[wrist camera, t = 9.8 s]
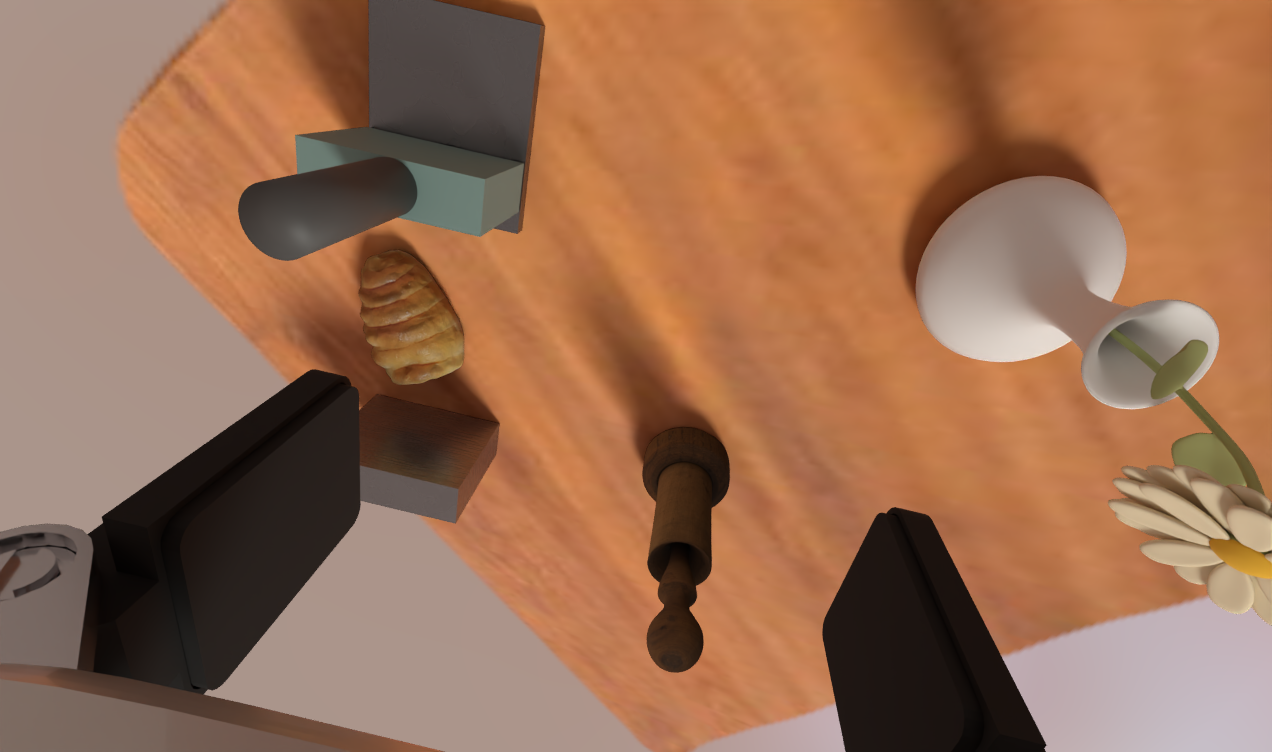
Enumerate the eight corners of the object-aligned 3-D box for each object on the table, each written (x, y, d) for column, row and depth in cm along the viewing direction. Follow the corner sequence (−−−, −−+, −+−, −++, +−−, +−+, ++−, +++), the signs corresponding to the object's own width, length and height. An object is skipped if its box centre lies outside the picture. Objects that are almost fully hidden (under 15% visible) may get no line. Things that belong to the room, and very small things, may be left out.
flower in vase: (895, 205, 36) (1193, 396, 14) (1106, 145, 33) (1894, 261, 11) (922, 388, 41) (1170, 745, 19) (1106, 349, 39) (1650, 710, 16)
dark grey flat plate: (377, -12, 34) (368, -15, 33) (545, 26, 34) (540, 25, 33) (377, 196, 40) (369, 199, 39) (521, 230, 39) (517, 233, 39)
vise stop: (376, 394, 47) (311, 454, 39) (499, 423, 46) (458, 489, 39) (376, 425, 48) (313, 489, 40) (496, 454, 48) (455, 523, 40)
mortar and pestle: (632, 476, 47) (591, 676, 31) (664, 413, 44) (637, 598, 28) (707, 507, 48) (704, 720, 32) (744, 447, 45) (762, 647, 29)
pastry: (349, 258, 42) (317, 273, 39) (434, 238, 41) (409, 252, 37) (400, 374, 46) (376, 397, 42) (480, 360, 45) (461, 382, 41)
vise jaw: (366, 126, 36) (144, 152, 22) (524, 163, 36) (402, 213, 22) (366, 176, 38) (157, 231, 23) (518, 212, 38) (400, 288, 23)
